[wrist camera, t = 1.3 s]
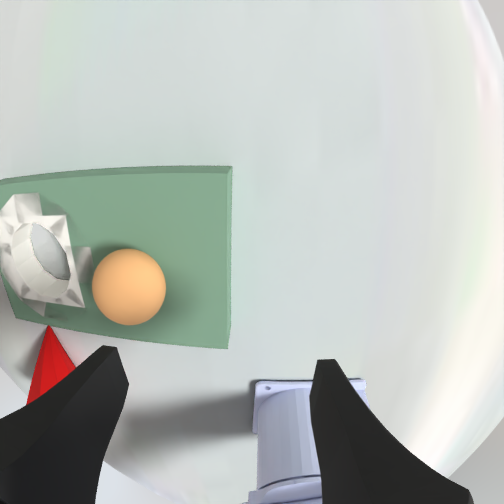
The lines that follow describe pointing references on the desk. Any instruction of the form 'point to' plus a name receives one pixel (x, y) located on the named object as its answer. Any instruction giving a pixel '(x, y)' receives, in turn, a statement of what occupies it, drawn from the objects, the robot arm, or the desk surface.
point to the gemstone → (49, 366)
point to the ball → (128, 286)
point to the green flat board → (124, 247)
